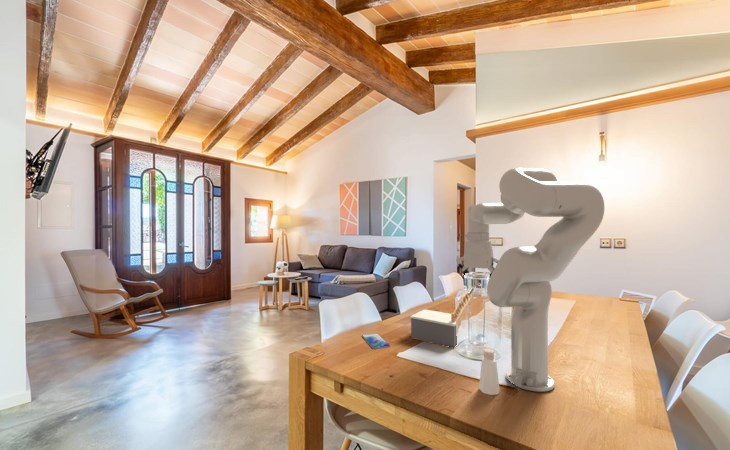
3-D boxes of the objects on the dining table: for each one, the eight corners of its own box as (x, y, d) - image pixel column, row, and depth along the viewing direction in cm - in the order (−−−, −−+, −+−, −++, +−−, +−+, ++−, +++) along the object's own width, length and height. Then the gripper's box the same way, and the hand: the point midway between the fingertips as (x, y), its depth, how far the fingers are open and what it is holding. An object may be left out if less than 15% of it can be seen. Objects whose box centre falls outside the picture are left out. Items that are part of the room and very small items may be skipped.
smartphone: (377, 333, 134) (391, 345, 120) (377, 335, 134) (391, 348, 120) (361, 334, 132) (372, 347, 117) (361, 336, 132) (372, 350, 117)
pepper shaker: (491, 397, 84) (491, 356, 84) (474, 388, 88) (474, 349, 88) (504, 391, 87) (503, 351, 87) (486, 383, 91) (486, 345, 91)
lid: (454, 326, 117) (454, 316, 117) (410, 318, 128) (410, 308, 128) (466, 318, 127) (465, 308, 127) (424, 311, 138) (424, 302, 138)
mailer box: (454, 348, 118) (454, 326, 118) (411, 338, 128) (411, 318, 128) (465, 338, 127) (465, 318, 127) (424, 330, 138) (424, 311, 138)
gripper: (452, 237, 123) (453, 281, 123) (499, 238, 112) (499, 286, 112) (460, 236, 128) (460, 279, 128) (505, 237, 118) (505, 283, 118)
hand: (478, 282), depth 120 cm, fingers open, 9 cm apart
